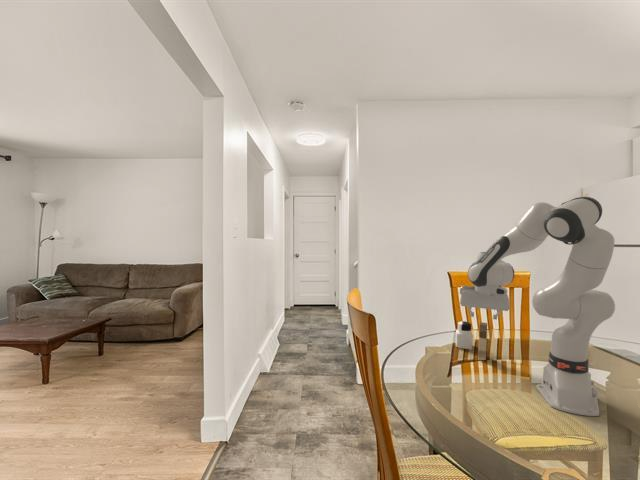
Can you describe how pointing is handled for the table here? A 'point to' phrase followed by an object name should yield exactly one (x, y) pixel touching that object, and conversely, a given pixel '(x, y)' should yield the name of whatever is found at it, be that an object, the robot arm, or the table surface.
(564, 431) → the table surface
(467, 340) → the medicine bottle
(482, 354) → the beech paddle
